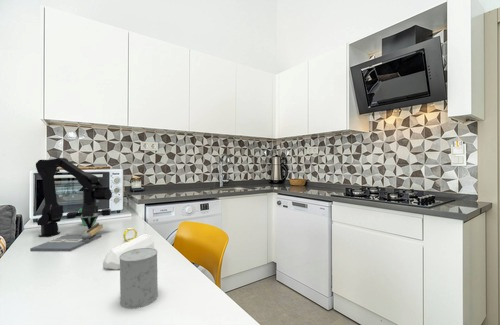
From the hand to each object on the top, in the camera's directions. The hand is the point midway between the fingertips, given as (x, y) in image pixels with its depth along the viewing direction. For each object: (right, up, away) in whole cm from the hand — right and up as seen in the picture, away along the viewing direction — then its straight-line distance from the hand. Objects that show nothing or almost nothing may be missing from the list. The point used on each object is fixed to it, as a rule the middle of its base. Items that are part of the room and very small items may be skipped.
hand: (89, 230), depth 129 cm
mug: (-13, -3, +22) cm, 26 cm away
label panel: (-2, -3, -12) cm, 13 cm away
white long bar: (+36, -3, -31) cm, 48 cm away
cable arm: (+4, 0, -5) cm, 6 cm away
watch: (+25, -3, -8) cm, 27 cm away
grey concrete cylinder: (+52, -3, -60) cm, 80 cm away
